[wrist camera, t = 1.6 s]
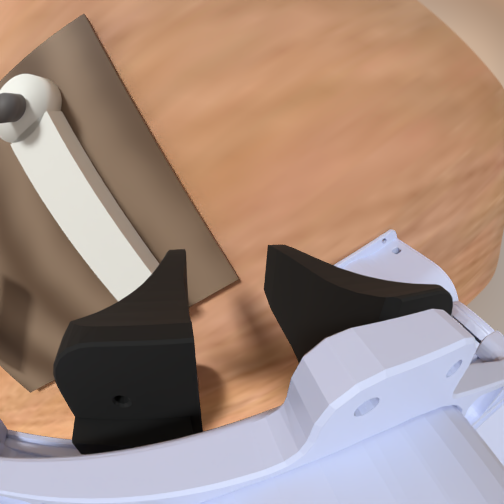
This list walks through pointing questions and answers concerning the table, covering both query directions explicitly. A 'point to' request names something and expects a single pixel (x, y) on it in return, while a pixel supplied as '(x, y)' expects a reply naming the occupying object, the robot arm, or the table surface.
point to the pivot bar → (75, 188)
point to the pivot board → (121, 188)
